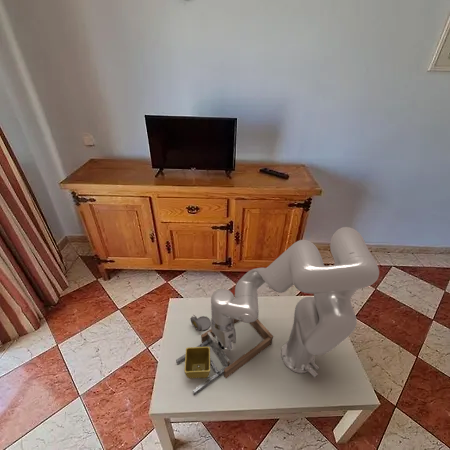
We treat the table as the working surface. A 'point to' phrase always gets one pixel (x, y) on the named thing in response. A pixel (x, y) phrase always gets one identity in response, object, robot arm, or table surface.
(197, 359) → the flower pot
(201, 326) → the pocket watch
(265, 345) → the frame
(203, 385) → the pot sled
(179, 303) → the table surface
